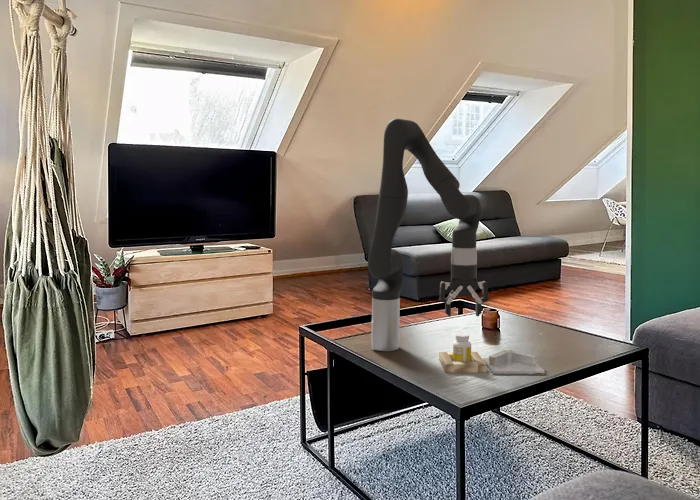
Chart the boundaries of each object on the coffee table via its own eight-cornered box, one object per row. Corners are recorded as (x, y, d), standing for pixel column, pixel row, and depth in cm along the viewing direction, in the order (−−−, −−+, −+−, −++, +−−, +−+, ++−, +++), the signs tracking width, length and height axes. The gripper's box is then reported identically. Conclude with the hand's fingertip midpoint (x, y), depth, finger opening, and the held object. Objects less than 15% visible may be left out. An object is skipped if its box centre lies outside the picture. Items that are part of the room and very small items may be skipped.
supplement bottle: (468, 363, 175) (469, 332, 173) (472, 368, 169) (473, 337, 168) (451, 363, 174) (451, 332, 173) (454, 369, 169) (455, 337, 168)
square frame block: (445, 372, 166) (445, 364, 166) (438, 359, 178) (439, 352, 177) (486, 372, 166) (486, 364, 166) (477, 359, 178) (477, 352, 177)
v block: (492, 374, 164) (492, 362, 164) (482, 361, 177) (483, 350, 176) (544, 374, 164) (544, 362, 164) (530, 360, 177) (531, 350, 176)
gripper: (442, 264, 164) (441, 319, 166) (491, 263, 164) (490, 318, 166) (438, 260, 172) (437, 313, 174) (484, 260, 172) (484, 312, 174)
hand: (463, 315), depth 170 cm, fingers open, 8 cm apart
